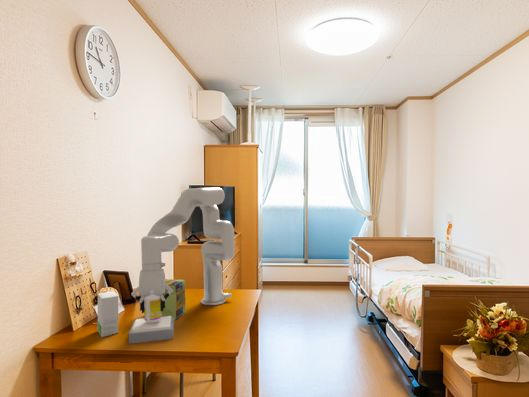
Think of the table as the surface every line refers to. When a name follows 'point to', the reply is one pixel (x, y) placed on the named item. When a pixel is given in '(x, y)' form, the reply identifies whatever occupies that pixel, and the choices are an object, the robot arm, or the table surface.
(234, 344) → the table surface
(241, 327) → the table surface
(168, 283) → the protein box
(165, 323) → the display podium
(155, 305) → the supplement bottle
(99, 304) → the skincare box
